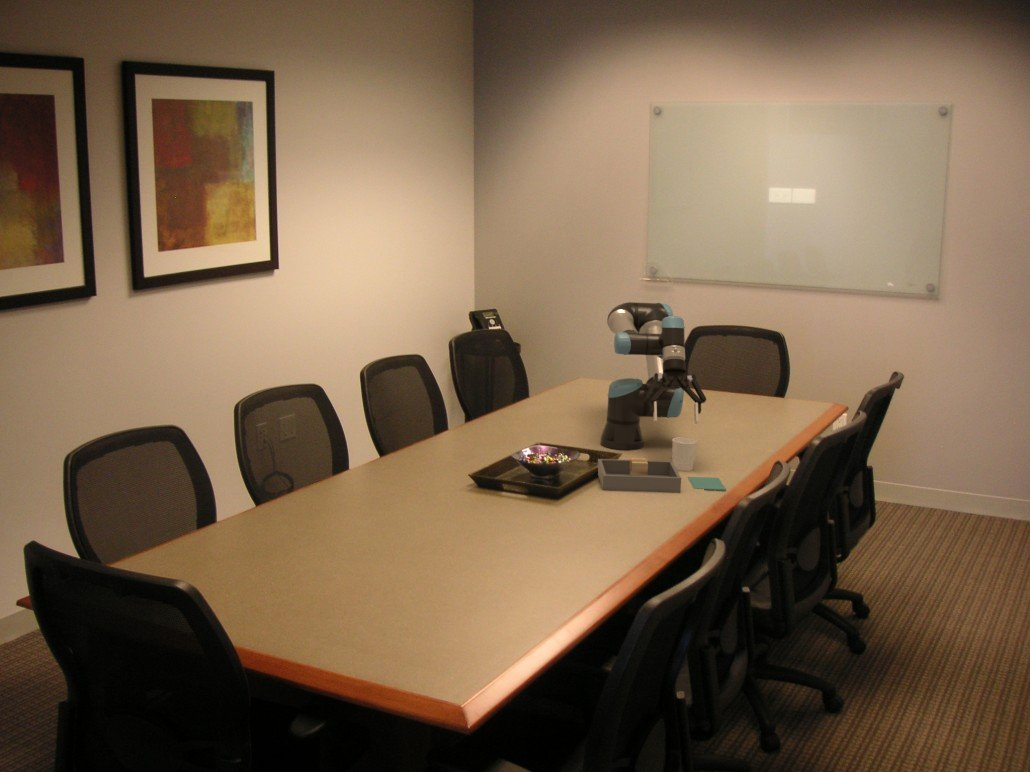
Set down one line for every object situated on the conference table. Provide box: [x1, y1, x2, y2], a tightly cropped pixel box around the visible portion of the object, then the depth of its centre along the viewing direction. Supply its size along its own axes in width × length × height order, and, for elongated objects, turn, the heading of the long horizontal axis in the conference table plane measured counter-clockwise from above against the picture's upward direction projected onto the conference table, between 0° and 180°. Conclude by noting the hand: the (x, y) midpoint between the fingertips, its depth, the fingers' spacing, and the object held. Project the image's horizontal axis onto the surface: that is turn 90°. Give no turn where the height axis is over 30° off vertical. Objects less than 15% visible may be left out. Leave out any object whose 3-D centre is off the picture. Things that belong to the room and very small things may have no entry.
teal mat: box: [687, 476, 727, 492], centre depth 348 cm, size 12×10×1 cm
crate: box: [597, 458, 682, 493], centre depth 346 cm, size 18×24×5 cm
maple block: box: [629, 457, 648, 476], centre depth 346 cm, size 5×5×7 cm
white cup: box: [671, 436, 697, 472], centre depth 362 cm, size 8×8×10 cm
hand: (675, 422), depth 359 cm, fingers open, 13 cm apart
